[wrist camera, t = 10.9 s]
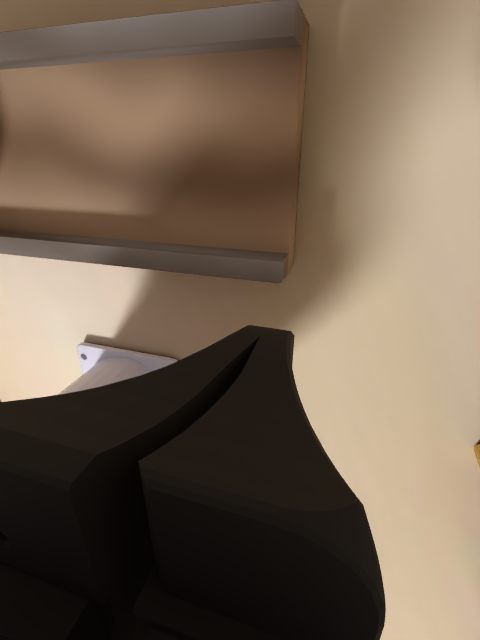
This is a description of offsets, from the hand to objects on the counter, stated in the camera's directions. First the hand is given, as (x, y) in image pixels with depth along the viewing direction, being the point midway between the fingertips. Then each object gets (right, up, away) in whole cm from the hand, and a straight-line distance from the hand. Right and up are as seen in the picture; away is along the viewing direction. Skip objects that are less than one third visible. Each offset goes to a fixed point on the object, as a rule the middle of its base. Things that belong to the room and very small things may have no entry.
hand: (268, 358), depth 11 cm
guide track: (-12, +11, +10) cm, 19 cm away
